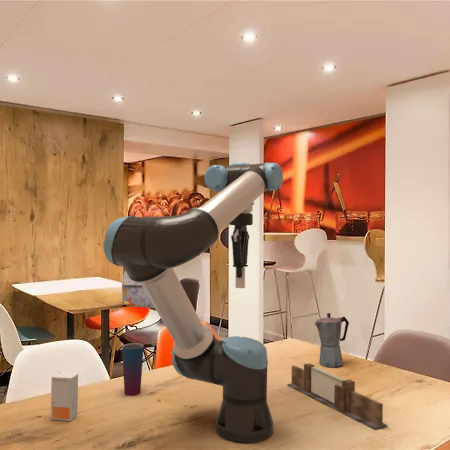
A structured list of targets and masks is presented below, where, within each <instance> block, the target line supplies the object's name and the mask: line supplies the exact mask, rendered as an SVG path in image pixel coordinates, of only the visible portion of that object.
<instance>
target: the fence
mask: <svg viewBox="0 0 450 450" xmlns="http://www.w3.org/2000/svg"><path fill="white" fill-rule="evenodd" d="M311 367H316V365H315V364H313V363H304V364H303V368H301V367H299V366H297V365H294V364H293V365H291V383H287V386H288V387H289V388H290V389H291V388H292V389H293V390H295V391H297V392H299V393H301V394H303V395H305V396H307V397H309V398H311V399H313V400H315V401H317V402H319V403H321V404H322V405H325V406H327V407H329V408H331V409H333V410H335V411H337V412H339V413H341V414H343V415H344V416H347V417H349V418H350V419H353V420H355V421H356V422H358V423H361V424H362V425H364V426H366V427H368V428H370V429H372V430H375V431H378V430H381V429H384V428H387V427H388V424H386V423H384V422H383V418H384V417H383V416H384V414H383V413H384V411H383V409H384V408H383V407H384V404H383V403H382V402H380V401H378V400H376V399H373V398H370V397H368V396H367V395H363V394H361V393H359V392H357V391H355V390H356V389H355V388H356V381H354V380H352V379H348V378H347V379H345V380H343V387H341V386H339V385H335V393H334V403H332V402H330V401H328V400H327V399H325V398H323V397H321V396H319V395H317V394H315V393H313V392H311Z"/></svg>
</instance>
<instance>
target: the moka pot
mask: <svg viewBox="0 0 450 450" xmlns="http://www.w3.org/2000/svg"><path fill="white" fill-rule="evenodd" d="M343 322H345V325H344V332H343V336H342V335H341V332H342V323H343ZM349 323H350V321H349V320H348V319H347V318H346V317H345V316H342V317H337V318H335V317H331V313H330V312H328V313H326V317H323V318H319V319H316V321H315V322H314V325H315V326H316V329H317V330H318V337H319V339H320V347H319V350H320V351H319V360H318V361H319V363H318V364H319V365H320V366H322V367H324V368H339V367H341V366H343V365H344V361H343V356H342V351H341V350H342V349H341V346H340V342H343V341H346V337H347V334H348V333H347V332H348V328H349V326H350V325H349ZM341 336H342V338H341Z"/></svg>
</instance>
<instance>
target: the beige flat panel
mask: <svg viewBox="0 0 450 450" xmlns="http://www.w3.org/2000/svg"><path fill="white" fill-rule="evenodd" d="M343 380H346V379H344V378H342V377H339V376H337V375H335V374H333V373H330V372H328V371H325V370H324V369H321V368H319V367H316V366H315V367H311V392H313V393H315V394H317V395H319V396H321V397H323V398H325V399H327V400H328V401H330V402H332V403H334V393H335V385H339V386H341V387H343Z"/></svg>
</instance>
